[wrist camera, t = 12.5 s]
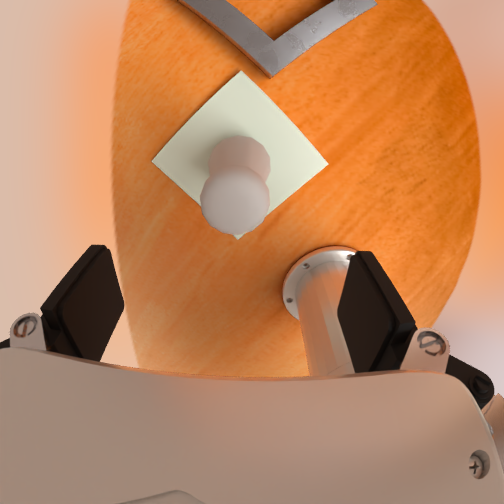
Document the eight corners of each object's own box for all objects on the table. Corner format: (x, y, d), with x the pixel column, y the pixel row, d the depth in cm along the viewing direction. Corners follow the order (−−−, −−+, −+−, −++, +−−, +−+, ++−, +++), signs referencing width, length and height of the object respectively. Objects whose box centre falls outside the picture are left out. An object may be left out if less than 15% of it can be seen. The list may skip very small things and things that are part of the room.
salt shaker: (255, 195, 29) (259, 263, 18) (203, 176, 28) (174, 234, 17) (277, 144, 27) (300, 181, 15) (223, 124, 25) (203, 144, 14)
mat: (326, 162, 28) (328, 164, 28) (238, 236, 33) (238, 239, 32) (241, 71, 23) (241, 70, 23) (153, 159, 28) (151, 161, 27)
